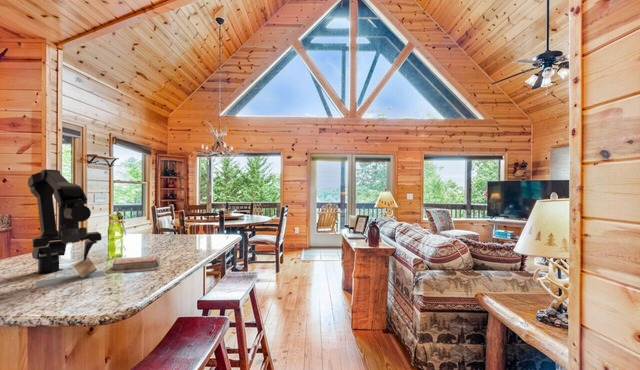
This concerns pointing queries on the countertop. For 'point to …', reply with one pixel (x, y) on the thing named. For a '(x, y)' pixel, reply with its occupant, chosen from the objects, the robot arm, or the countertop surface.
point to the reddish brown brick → (135, 264)
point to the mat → (67, 279)
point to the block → (84, 267)
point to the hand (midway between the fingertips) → (68, 262)
